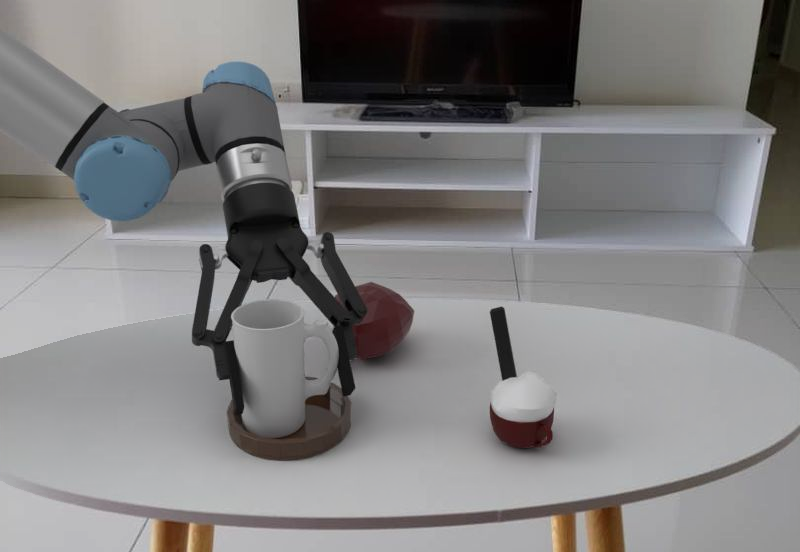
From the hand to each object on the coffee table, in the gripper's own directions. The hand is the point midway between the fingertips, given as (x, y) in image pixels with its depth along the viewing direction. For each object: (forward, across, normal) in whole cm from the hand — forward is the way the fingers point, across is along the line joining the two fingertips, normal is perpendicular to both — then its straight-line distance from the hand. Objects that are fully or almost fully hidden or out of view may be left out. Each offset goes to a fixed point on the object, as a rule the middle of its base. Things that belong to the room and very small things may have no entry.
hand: (295, 401), depth 71 cm
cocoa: (+7, +21, -1) cm, 22 cm away
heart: (-8, +13, +14) cm, 21 cm away
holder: (+1, 0, +5) cm, 5 cm away
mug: (+1, 0, +5) cm, 5 cm away
